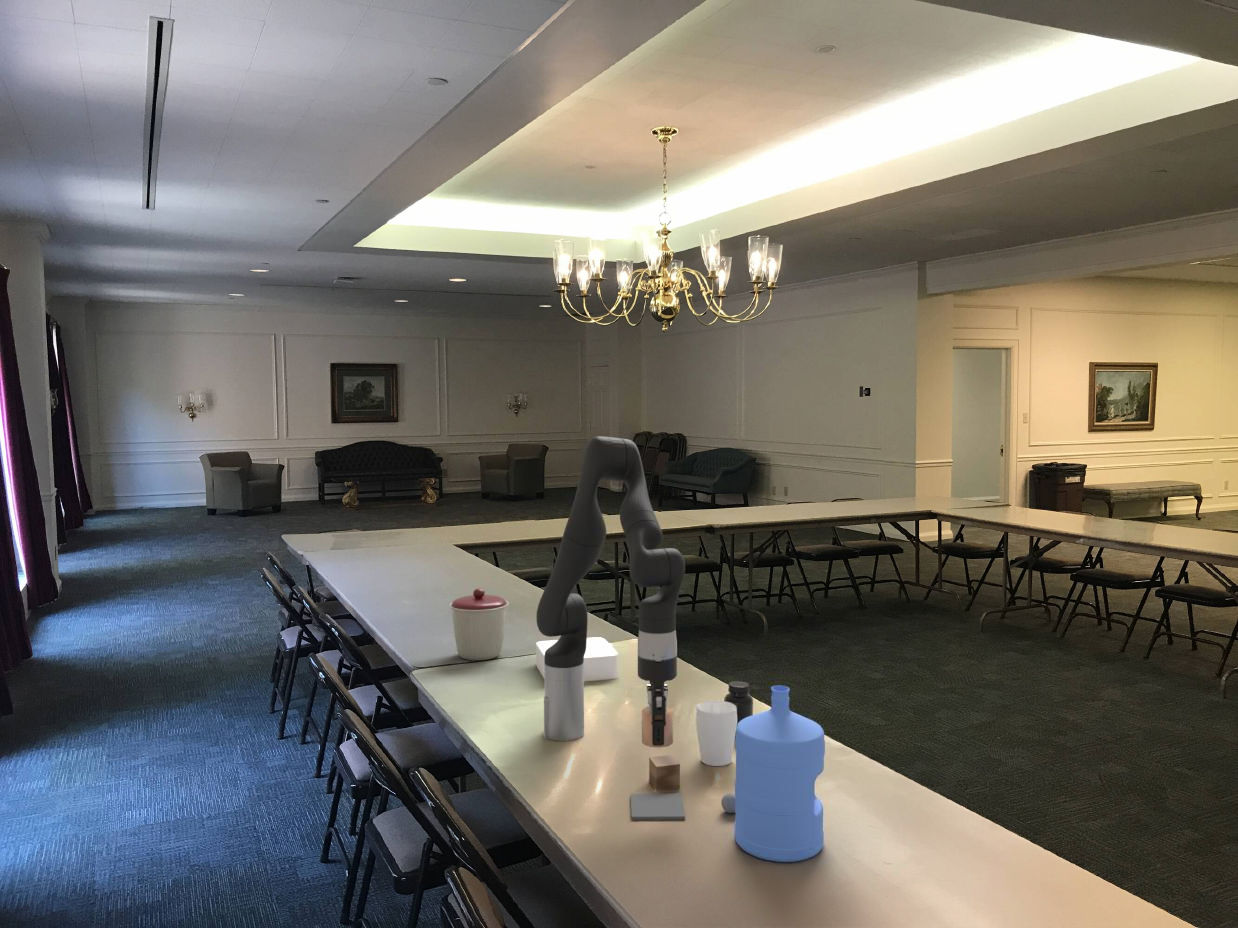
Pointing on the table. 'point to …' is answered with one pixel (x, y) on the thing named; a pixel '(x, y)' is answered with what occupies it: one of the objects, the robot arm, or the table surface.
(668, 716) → the peach rounded capsule
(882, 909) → the table surface
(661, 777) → the walnut block
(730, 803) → the grey ball
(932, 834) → the table surface
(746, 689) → the supplement bottle
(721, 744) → the cup
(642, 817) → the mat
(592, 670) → the projector
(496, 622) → the canister
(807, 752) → the water jug
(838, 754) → the table surface
